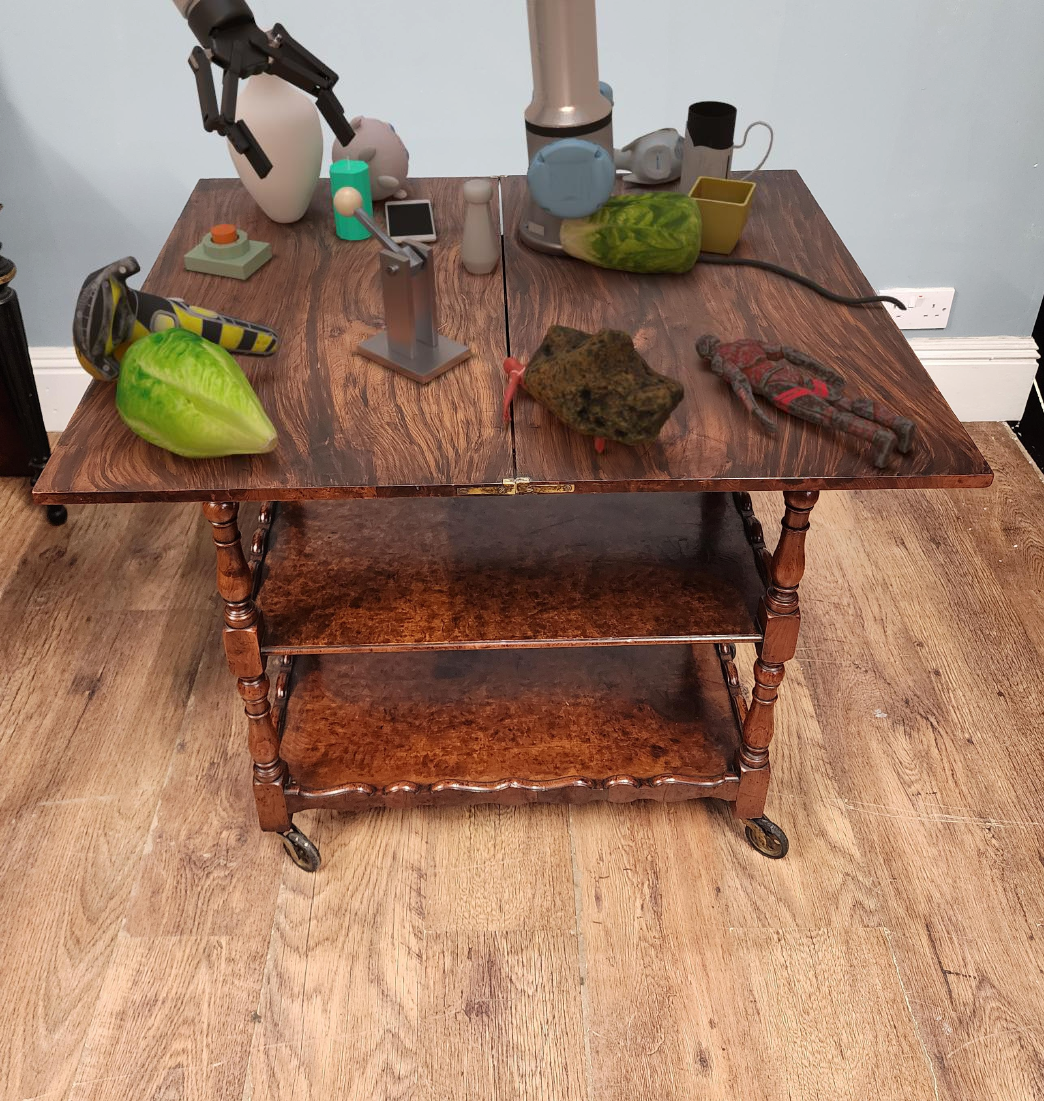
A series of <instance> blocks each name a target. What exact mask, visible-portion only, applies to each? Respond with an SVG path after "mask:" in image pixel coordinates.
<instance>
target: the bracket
mask: <svg viewBox="0 0 1044 1101" xmlns="http://www.w3.org/2000/svg"><path fill="white" fill-rule="evenodd" d="M401 244H402V248H404V247H406V246H409V247H410V248H411V249H412V250H413V251H414V252H415V253H416V254H417V255H418V256H419V257H420V258H421V259H422V260H423V263H422V266H421V268H420V270H419V273H418V274H417V275H415V276H413V277H411V265H410V259H409V258H406V257H404V256H401V255H399V254H396V253H394V252H392V251H389V250H387V249H385V248H383V249H381V250H379V251H378V255H379V256H378V257H379V267H380V268H379V269H380V278H381V288H382V289H381V290H382V298H383V299H382V300H383V308H384V319H385V320H384V321H385V327H386V328H385V329H384V330H382V331H380V332H377V333H376V334H375V335H373V336H371V337H369V338H367V339H366V340H364V341H361V342H360V343H358V344H357V345H356V350H357V354H358V355H360V356H362V357H364V358H367V359H369V360H371V361H372V362H375V363H377V364H378V365H381V366H383V367H385V368H387V369H390V370H391V371H394V372H396V373H398V374H400V375H402V376H404V377H407V378H408V379H410V380H412V381H415V382H417V383H419V384H421V385H423V386H424V385H425V384H427V383H429V382H430V381H432V380H434V379H435V378H438V377H439V376H441V375H443V374H444V373H446V372H447V371H449V370H450V369H452V368H454V367H455V366H457V365H459V364H461V363H463V362H464V361H466V360H468V359H469V358H471V356H472V351H471V350H472V348H471V347H469V346H467V345H466V344H463V343H461V342H458V341H456V340H453V339H452V338H449V337H447V336H446V335H442V334H440V333H439V325H438V309H437V308H438V307H437V294H436V292H437V291H436V277H435V261H434V248H433V246H429V245H427V244H425V243H423V242H417V241H414V240H412V239H409V238H406V239H404V240H402V243H401Z"/></svg>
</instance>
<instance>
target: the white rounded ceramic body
mask: <svg viewBox="0 0 1044 1101" xmlns="http://www.w3.org/2000/svg"><path fill="white" fill-rule="evenodd" d="M684 139H685V136H682V135H681V134H680V133H679V131H678V130H677V129H676V128H675V127H664V128H660V129H657V130H654V131H651V132H650V133H647V134H644V135H641V136H640V137H637V138H635V139H634V140H633V141H631V142H630V143H628V144H627V145H624V146H623V147H622V148H621V149H620V148H615V147H613V149H614V164H615V167H616V171H627V172H630V173H631V174H627V175H623V176H622V180H623V181H624V182H631V183H637V184H642V185H659V184H666V183H671V182H673V181H676V180H678V179H681V171H682V160H683V150H684Z"/></svg>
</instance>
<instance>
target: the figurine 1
mask: <svg viewBox="0 0 1044 1101" xmlns="http://www.w3.org/2000/svg"><path fill="white" fill-rule="evenodd" d="M529 362H530V361H528V362H526V363H525V362H524V364H523V365H522V364H521V363H520V361H519V360H518V359H517V358H515V357H512V356H510V357H506V358H505V359H504V361H503V365H502V367H503V371H504V372H505V374H506V375H507V376H508V385H507V387H506V389H505V393H504V399H503V406H502V407H503V409H502V418H503V419H502V420H503V424H504V425H508V421H507V418H508V420H509V421H510V422H511V421H512V418H511V412H510V411H509V406H510V405H511V402H512V401H513V399H514V396H515V395H516V392H517V387H518V385H519V384H520V386H521V388H522V389H523V390H525V391H527V389H526V387H525V385H524V383H523V378H522V377H523V373H524V371H525V367H526V365H527V364H528V363H529ZM594 442H595V444H594V446H595V447H594V448H595V451H596V452H597V453H602V452H603V450H604V448H605V444H606V439H599V438H598V437H596V436H595V441H594Z"/></svg>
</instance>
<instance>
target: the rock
mask: <svg viewBox="0 0 1044 1101" xmlns="http://www.w3.org/2000/svg"><path fill="white" fill-rule="evenodd" d="M528 362H529V363H528V364H527V365H526V367H525V371H524V373H523V377H522V378H523V383H524V385H525V387H526V389H527V390H526V391H527V392H528V393H529V394H530V395H531V396H532V397H533V398H534V400H536V401H537V402H538V403H539V404H540V405H542V407H544V408H546V409H547V410H548V411H550V412H552V413H553V415H555V416H556V417H557V419H559V420H560V421H561V422H562V423H563V424H564V425H566V426H567V427H568V428H570V429H571V430H573V431H575V432H577V433H580V434H583V435H585V436H589V435H592V436H595V438H596V437H598V438H599V439H605V440H611V441H618V442H620V443H622V444H626V445H629V446H633V445H648V444H650V443H652V442H655V441H656V439H657V438H658V437H659V436H660V435H661V433H662V432H661V430H662V428H663V427H664V426H665V424H666V423H667V422H668V421H669V420H670V419H671V414H672V413H673V412H674V411H676V410H677V408H678V407H679V404H680V403H681V402H683V400H684V399H685V389H684V385H683V383H681V382H680V381H678V380H676V379H674V378H672V377H670V376H667V375H664V374H662V373H661V374H660V373H659V372H657V371H656V370H654V369H653V368H652V367H651V366H650V365H649V364H648V362H647V361H646V359H645V358H644V357H643V356H642V355H641V354H640V352H638V350H637V349H636V348H635V344H634V340H633V338H632V337H631V335H630V333H629V332H628V331H626V330H623V329H619V328H618V329H613V328H611V327H610V326H609V327H608V326H605V327H602V328H601V329H599V330H598V331H597V332H596V333H595V334H593V333H588V332H586V331H585V330H582V329H576V328H574V327H569V326H566V325H565V326H563V325H561V324H551V325H550V326H549V327H548V328H547V330H546V333H545V335H544V336H543V340H542V341H541V343H540V345H539V347H538V348H537V349H536V350H534V352H533V354H532V356H531V358H530V361H528Z"/></svg>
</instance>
